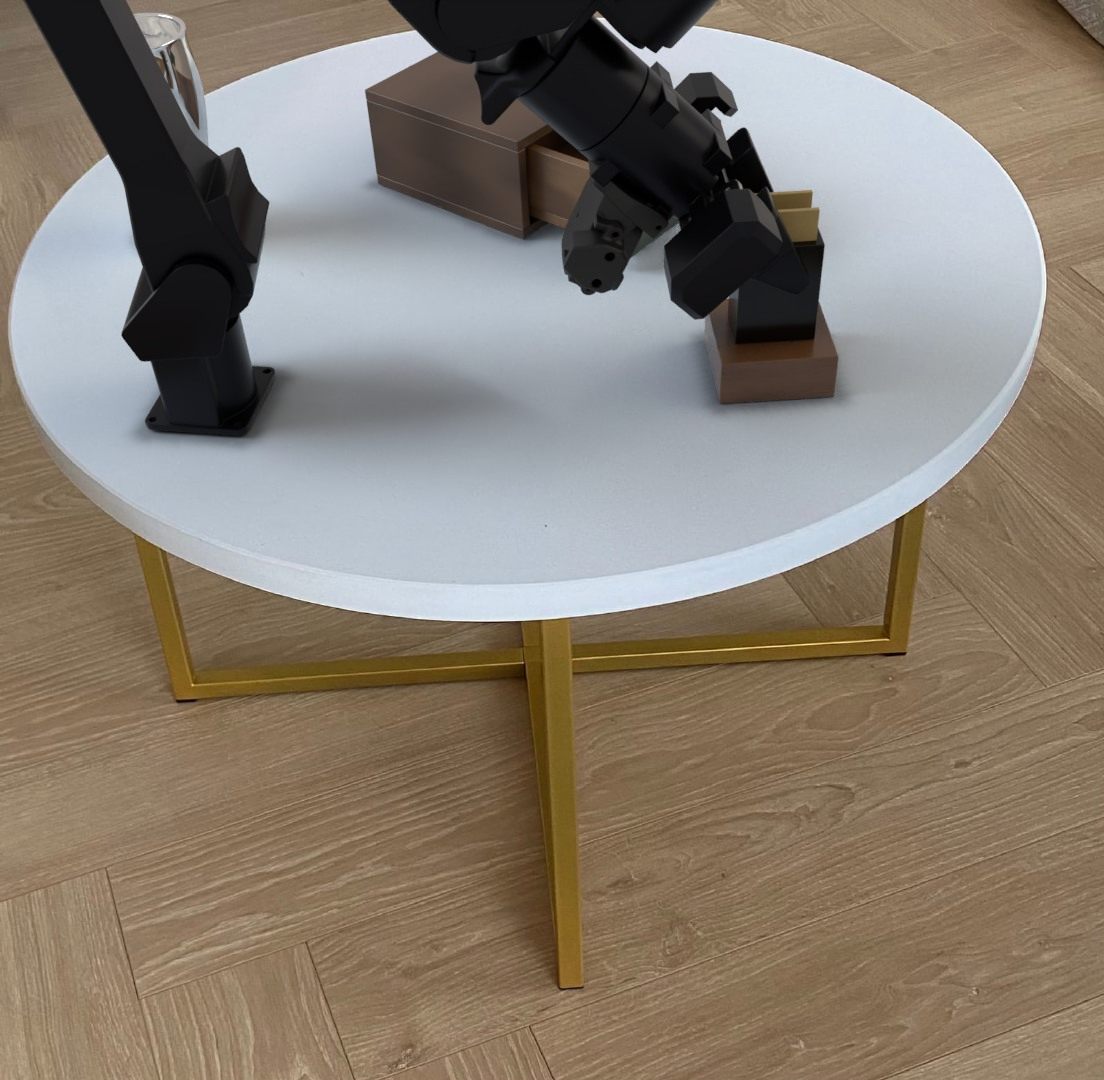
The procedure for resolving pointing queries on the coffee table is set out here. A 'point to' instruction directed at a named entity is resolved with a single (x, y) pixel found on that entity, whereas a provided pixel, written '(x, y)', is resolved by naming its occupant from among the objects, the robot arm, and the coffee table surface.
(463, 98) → the cabinet
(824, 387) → the stand
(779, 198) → the black toaster with toast
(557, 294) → the coffee table surface
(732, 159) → the robot arm
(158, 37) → the silver metal cup
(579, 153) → the drawer
